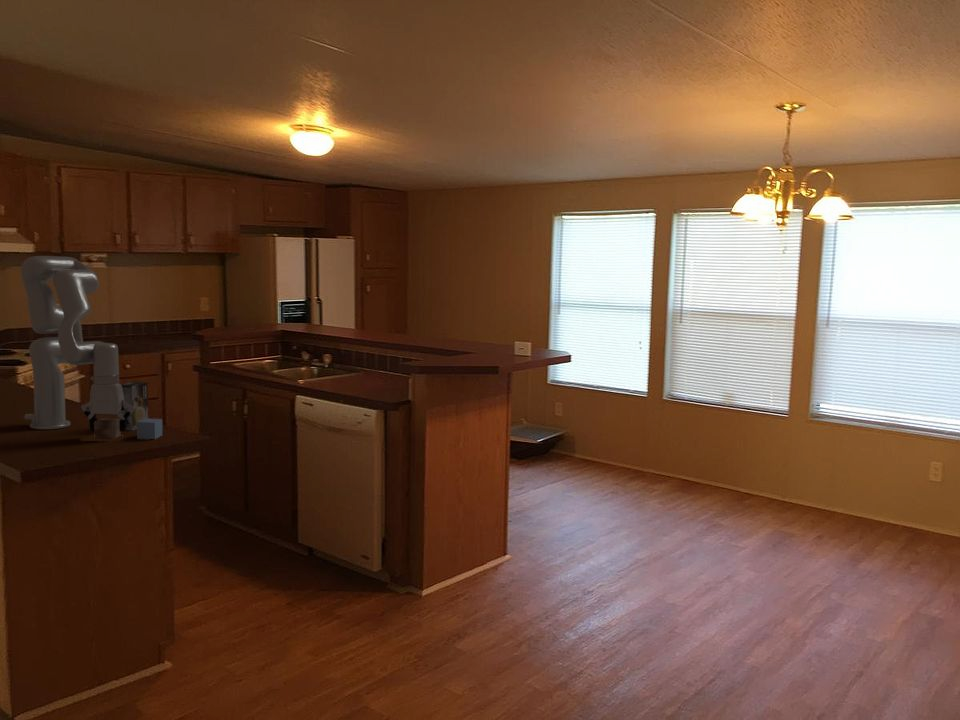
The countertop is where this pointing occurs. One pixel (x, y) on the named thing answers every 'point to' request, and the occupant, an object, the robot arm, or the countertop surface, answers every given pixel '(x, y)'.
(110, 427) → the walnut block
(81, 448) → the countertop surface
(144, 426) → the blue cube
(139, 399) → the coffee box
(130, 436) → the countertop surface
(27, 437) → the countertop surface
